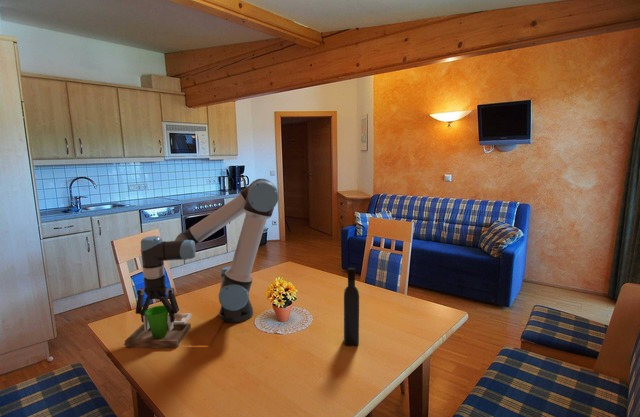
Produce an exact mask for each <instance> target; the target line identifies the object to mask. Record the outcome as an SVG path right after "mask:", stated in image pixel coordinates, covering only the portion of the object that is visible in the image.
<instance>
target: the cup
mask: <svg viewBox="0 0 640 417" xmlns="http://www.w3.org/2000/svg"><path fill="white" fill-rule="evenodd" d="M145 314H146V316H147V319H148V323H149V326H150V329H151V333H152V336H153V338H155V339H159V338H163V337H165V336H166V334H167V325H168V315H169V313H168V311H167V310H166V308H165V307H164V305H163V304H160V305H159V304H158V305H154V306H151V307H148V309H147V310H146V311H145Z"/></svg>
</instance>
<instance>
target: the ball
mask: <svg viewBox="0 0 640 417" xmlns="http://www.w3.org/2000/svg"><path fill="white" fill-rule="evenodd" d="M183 314H184V313H182V312H180V311H178V312H177V313H176V314H175V319H176V320H177V321H179V320H181V319H182V318H183Z"/></svg>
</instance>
